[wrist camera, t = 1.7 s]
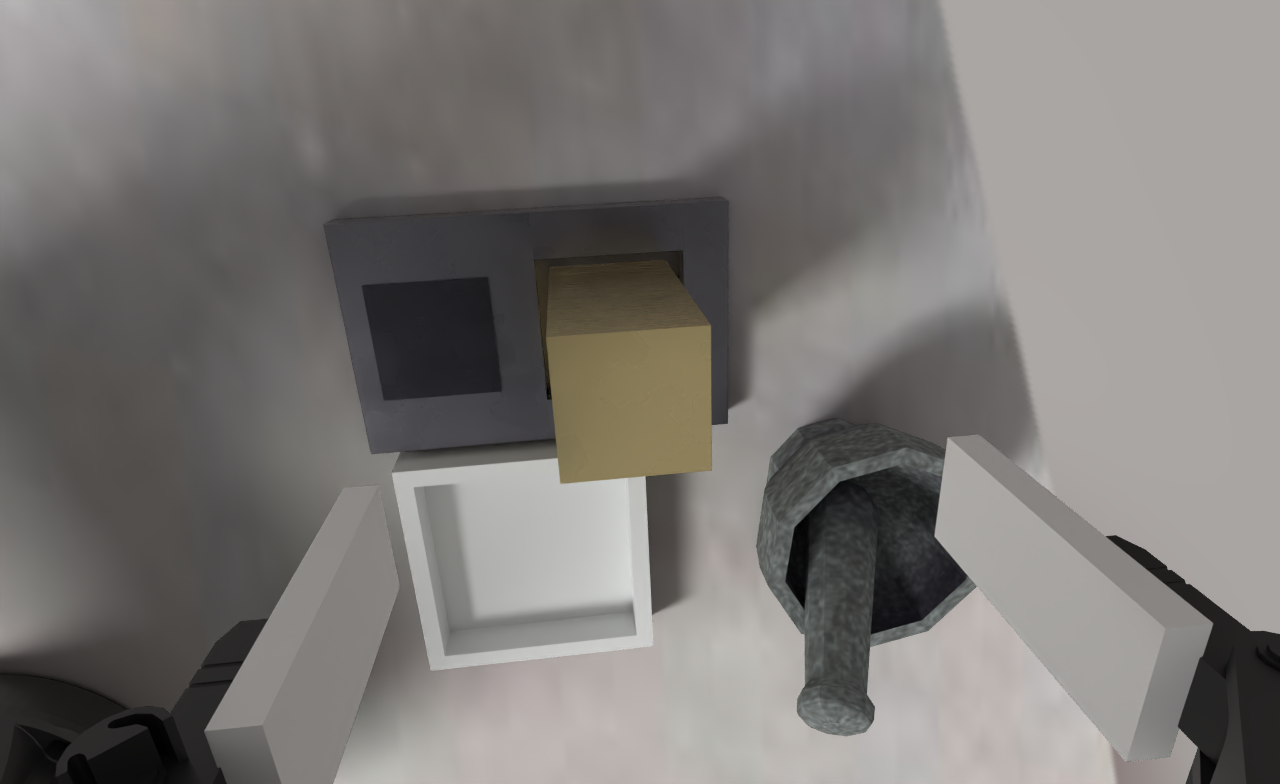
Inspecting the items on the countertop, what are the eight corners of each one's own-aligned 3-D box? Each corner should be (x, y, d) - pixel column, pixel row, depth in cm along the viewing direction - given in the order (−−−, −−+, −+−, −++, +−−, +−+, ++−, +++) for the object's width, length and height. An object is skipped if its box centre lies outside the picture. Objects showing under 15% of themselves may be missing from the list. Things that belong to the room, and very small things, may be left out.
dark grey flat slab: (377, 442, 33) (370, 455, 31) (332, 219, 29) (322, 224, 28) (722, 413, 34) (728, 424, 33) (722, 197, 30) (728, 200, 29)
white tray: (437, 640, 37) (430, 670, 35) (401, 450, 33) (391, 473, 31) (648, 617, 38) (653, 646, 36) (638, 429, 34) (644, 450, 32)
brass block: (559, 376, 32) (560, 483, 23) (549, 267, 31) (545, 337, 21) (668, 367, 33) (711, 470, 24) (665, 259, 31) (710, 325, 22)
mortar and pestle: (830, 347, 33) (966, 467, 22) (955, 454, 36) (1130, 608, 25) (674, 515, 36) (726, 698, 25) (803, 603, 39) (901, 802, 28)
